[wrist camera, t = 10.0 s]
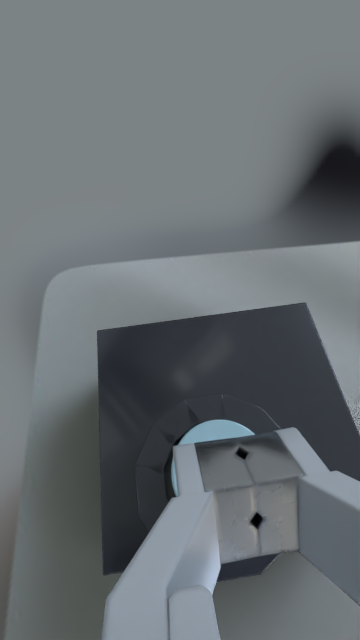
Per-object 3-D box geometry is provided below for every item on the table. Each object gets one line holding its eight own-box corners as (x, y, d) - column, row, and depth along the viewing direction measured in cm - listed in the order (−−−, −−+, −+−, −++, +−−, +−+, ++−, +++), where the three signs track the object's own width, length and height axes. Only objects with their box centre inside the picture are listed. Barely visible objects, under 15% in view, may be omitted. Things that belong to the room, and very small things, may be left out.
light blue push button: (180, 537, 12) (178, 541, 11) (167, 437, 14) (164, 426, 12) (274, 521, 13) (288, 522, 11) (250, 424, 14) (259, 412, 13)
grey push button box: (127, 569, 18) (91, 605, 11) (116, 371, 24) (88, 313, 17) (340, 531, 19) (430, 543, 12) (280, 347, 24) (316, 283, 18)
